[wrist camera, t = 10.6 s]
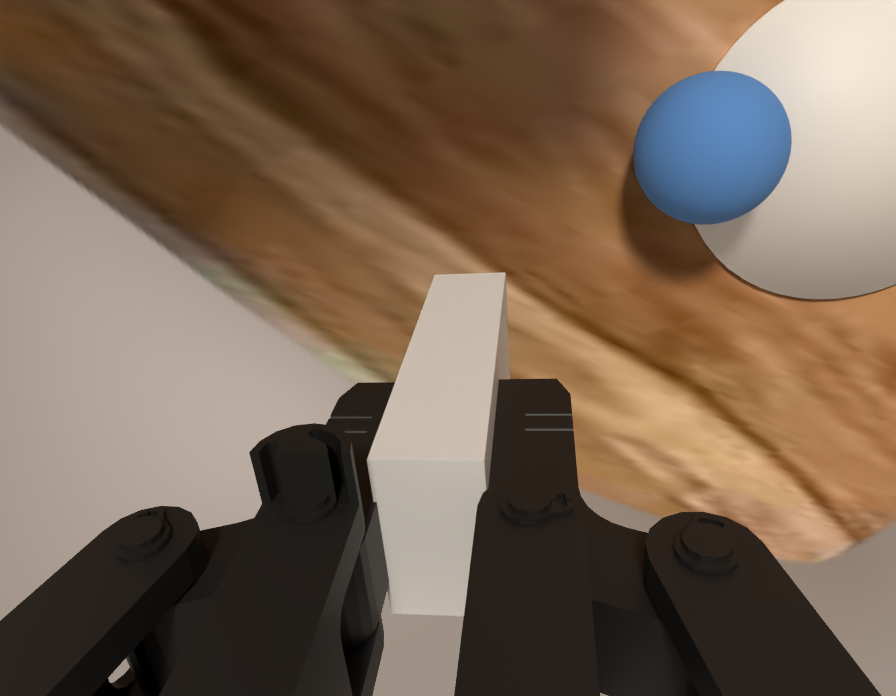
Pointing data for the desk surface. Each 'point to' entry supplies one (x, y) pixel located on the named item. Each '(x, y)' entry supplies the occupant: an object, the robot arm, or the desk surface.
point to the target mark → (822, 152)
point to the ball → (712, 147)
